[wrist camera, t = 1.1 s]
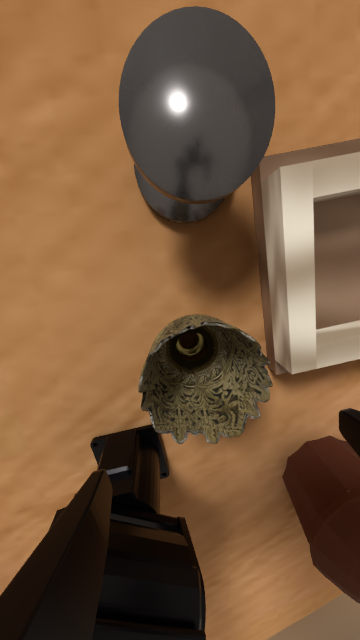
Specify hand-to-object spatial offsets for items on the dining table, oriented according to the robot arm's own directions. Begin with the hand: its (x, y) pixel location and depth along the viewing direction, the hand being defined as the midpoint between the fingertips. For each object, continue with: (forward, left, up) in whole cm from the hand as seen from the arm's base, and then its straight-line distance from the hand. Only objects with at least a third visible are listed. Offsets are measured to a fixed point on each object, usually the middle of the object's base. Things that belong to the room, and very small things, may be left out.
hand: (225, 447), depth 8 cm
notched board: (+4, -13, -12) cm, 18 cm away
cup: (0, 0, -12) cm, 12 cm away
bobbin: (+13, -2, -12) cm, 18 cm away
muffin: (-19, -12, -12) cm, 26 cm away
